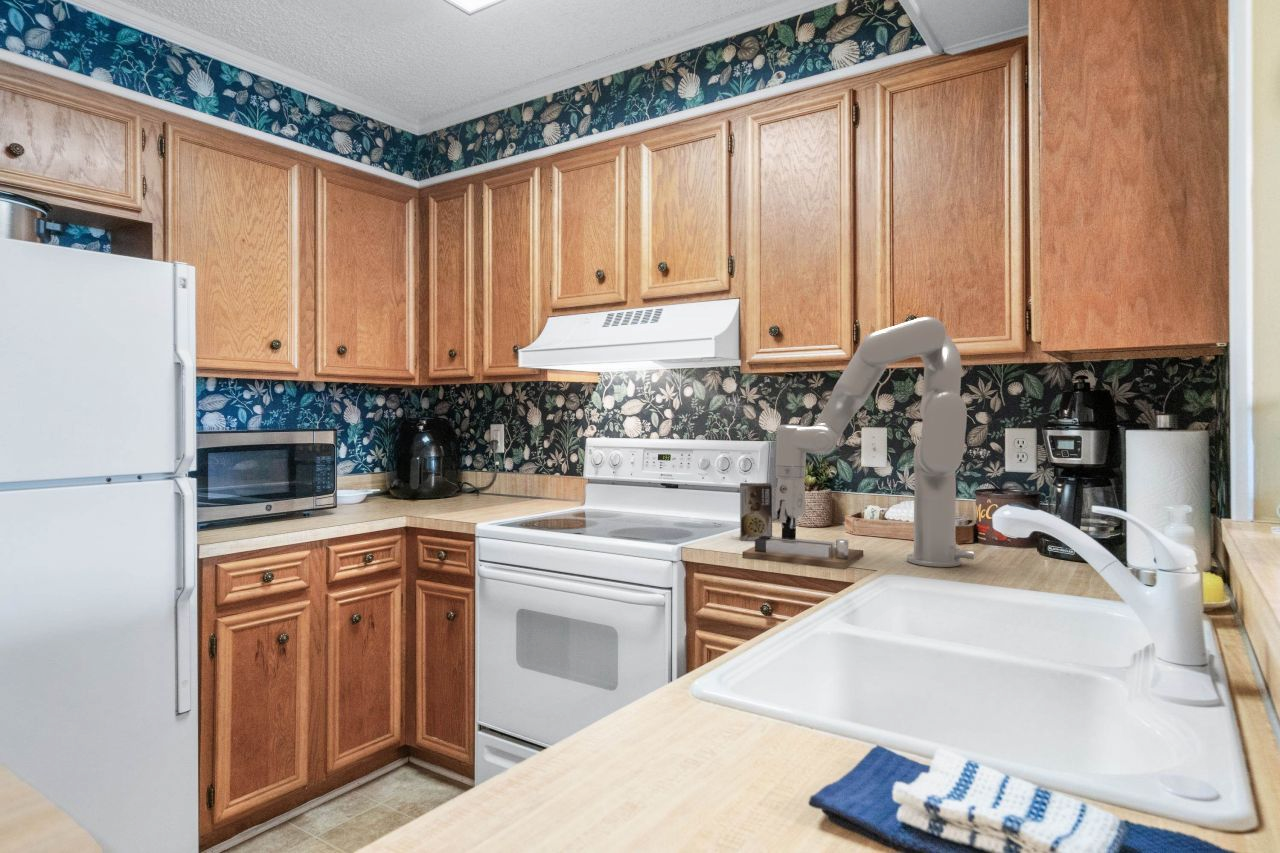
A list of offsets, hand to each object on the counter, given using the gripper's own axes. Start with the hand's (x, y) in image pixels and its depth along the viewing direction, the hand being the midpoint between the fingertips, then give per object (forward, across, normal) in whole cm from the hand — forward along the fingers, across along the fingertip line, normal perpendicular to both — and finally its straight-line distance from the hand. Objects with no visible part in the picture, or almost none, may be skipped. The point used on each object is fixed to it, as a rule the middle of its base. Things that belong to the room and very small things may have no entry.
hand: (788, 542), depth 193 cm
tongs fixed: (+2, -5, -5) cm, 7 cm away
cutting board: (+3, 0, -4) cm, 5 cm away
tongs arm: (+1, -3, -3) cm, 4 cm away
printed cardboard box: (+4, +17, +16) cm, 24 cm away
